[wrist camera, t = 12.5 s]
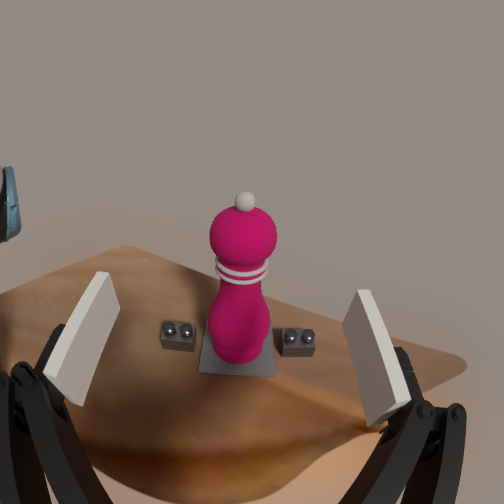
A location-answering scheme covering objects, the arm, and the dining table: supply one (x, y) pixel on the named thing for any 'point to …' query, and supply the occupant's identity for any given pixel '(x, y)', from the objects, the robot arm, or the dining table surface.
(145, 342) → the dining table surface
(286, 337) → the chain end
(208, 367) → the plate
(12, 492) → the robot arm
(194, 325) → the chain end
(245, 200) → the pepper mill
